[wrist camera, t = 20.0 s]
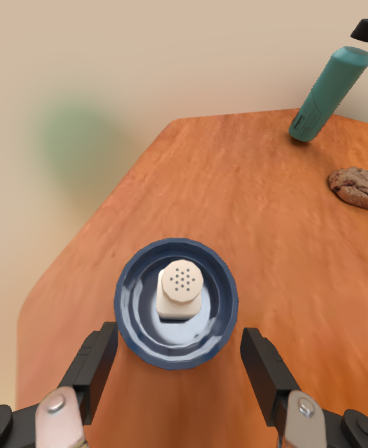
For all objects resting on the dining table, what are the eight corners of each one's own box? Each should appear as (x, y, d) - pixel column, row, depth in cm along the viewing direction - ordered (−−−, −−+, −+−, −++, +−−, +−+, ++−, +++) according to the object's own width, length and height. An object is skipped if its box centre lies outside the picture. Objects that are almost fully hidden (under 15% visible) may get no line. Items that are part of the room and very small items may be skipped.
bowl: (165, 239, 27) (165, 220, 22) (239, 287, 24) (256, 276, 20) (101, 315, 21) (85, 309, 16) (190, 392, 18) (198, 409, 14)
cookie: (384, 192, 37) (400, 181, 34) (368, 218, 33) (385, 208, 30) (338, 165, 40) (349, 154, 38) (317, 186, 36) (329, 175, 33)
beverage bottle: (315, 145, 44) (409, 26, 27) (295, 150, 42) (382, 25, 25) (297, 130, 47) (371, 15, 30) (277, 134, 45) (345, 13, 28)
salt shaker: (157, 319, 20) (153, 307, 12) (160, 283, 22) (158, 253, 14) (192, 320, 21) (210, 309, 13) (191, 284, 23) (207, 255, 15)
